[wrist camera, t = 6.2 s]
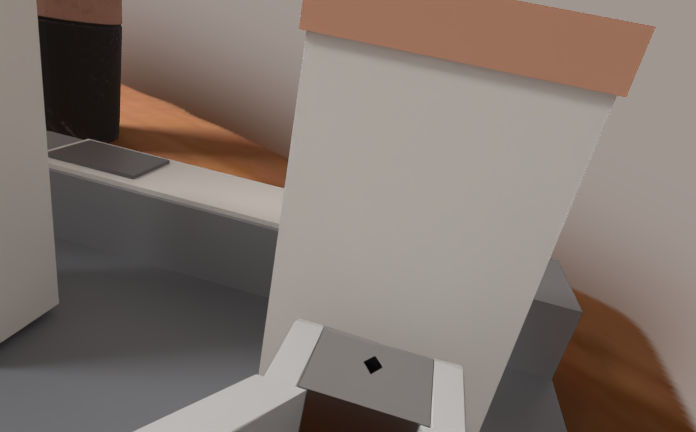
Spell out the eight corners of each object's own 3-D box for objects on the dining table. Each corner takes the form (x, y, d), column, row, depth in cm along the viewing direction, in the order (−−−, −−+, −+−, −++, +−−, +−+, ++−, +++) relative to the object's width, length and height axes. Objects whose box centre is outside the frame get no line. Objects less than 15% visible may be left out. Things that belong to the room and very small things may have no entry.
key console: (-561, 439, 10) (-719, 247, 8) (36, 203, 25) (28, 114, 23) (666, 958, 7) (863, 840, 5) (520, 337, 22) (558, 247, 20)
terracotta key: (448, 522, 11) (655, 26, 7) (242, 454, 11) (308, -40, 7) (448, 419, 14) (591, 30, 9) (284, 370, 14) (349, -17, 10)
